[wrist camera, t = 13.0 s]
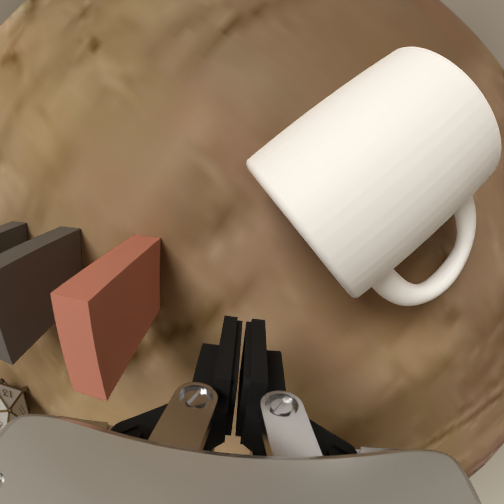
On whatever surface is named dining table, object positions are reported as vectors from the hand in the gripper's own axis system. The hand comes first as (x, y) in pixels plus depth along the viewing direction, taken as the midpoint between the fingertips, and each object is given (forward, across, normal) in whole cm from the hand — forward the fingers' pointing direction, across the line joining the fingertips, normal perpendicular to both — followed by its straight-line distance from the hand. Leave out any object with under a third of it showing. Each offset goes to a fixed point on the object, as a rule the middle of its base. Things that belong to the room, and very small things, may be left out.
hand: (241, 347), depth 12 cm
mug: (+7, -7, -7) cm, 12 cm away
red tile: (+7, +6, 0) cm, 9 cm away
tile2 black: (+7, +12, 0) cm, 14 cm away
